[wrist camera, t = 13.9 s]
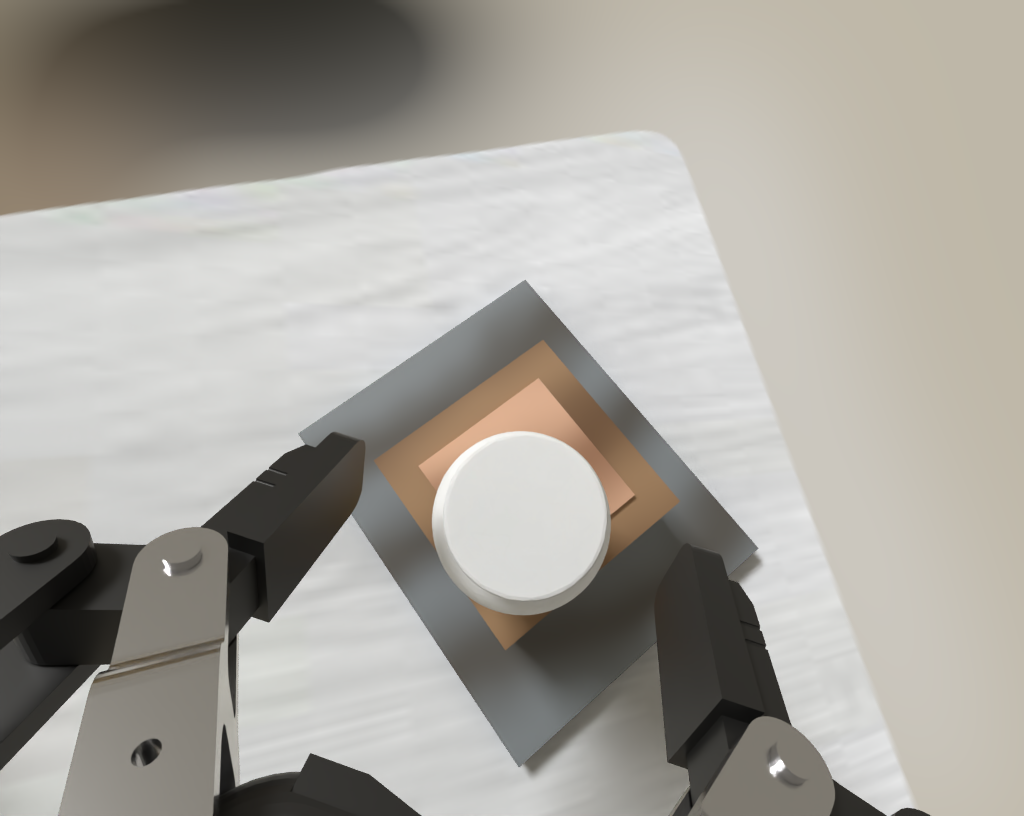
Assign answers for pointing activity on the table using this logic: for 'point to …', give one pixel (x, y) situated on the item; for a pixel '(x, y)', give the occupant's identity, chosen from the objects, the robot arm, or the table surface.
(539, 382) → the grey brown stepped block
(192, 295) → the table surface
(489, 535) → the supplement bottle
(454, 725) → the table surface
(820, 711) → the table surface
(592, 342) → the table surface
